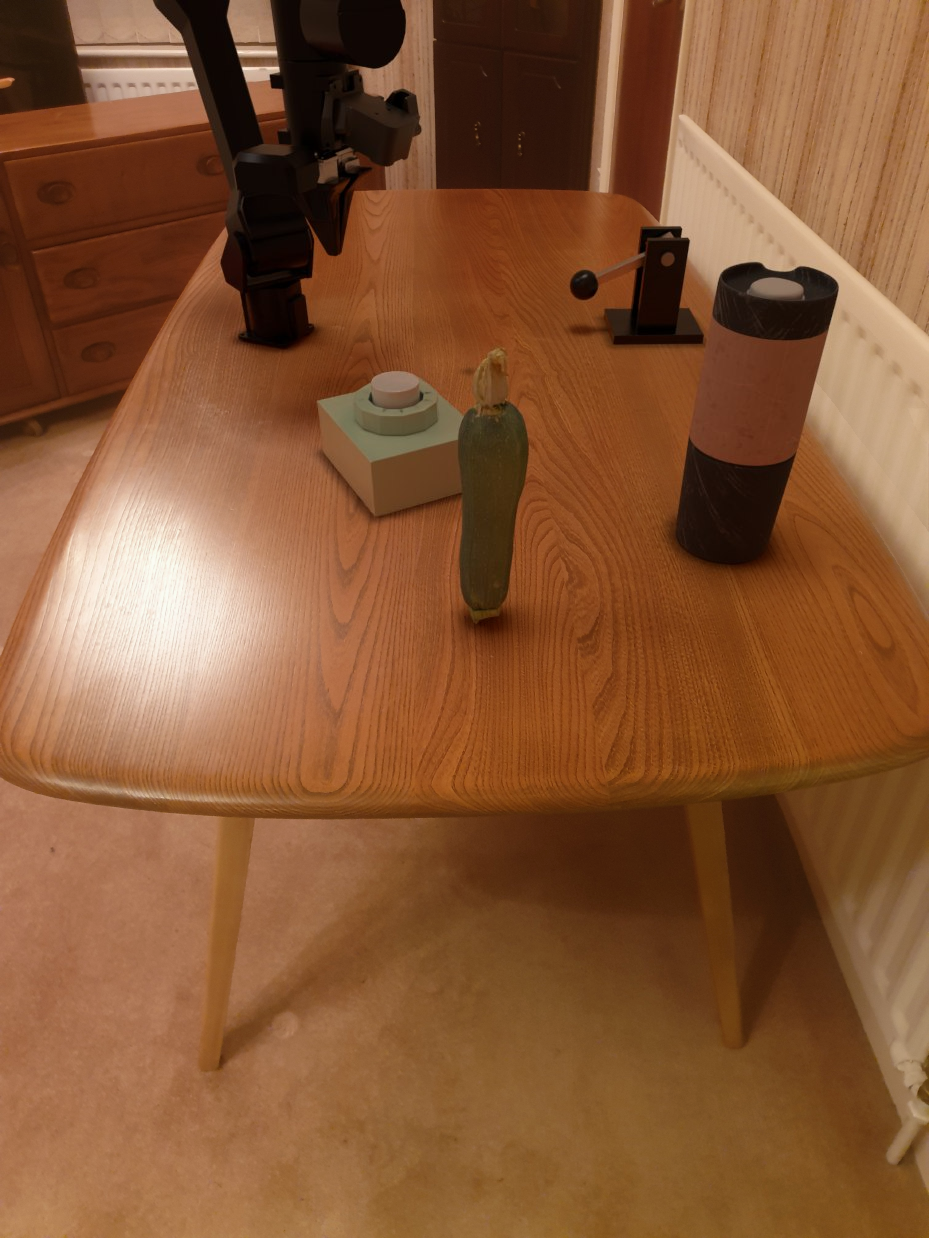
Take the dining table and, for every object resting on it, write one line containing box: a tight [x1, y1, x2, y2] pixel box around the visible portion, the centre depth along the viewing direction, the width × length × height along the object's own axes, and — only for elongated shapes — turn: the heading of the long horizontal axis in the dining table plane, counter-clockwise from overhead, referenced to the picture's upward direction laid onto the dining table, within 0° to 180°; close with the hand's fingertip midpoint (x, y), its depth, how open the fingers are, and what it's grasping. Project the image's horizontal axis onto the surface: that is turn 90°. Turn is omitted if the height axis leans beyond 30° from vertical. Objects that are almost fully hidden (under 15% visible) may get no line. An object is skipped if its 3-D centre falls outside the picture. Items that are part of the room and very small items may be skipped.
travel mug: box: [675, 261, 840, 564], centre depth 62 cm, size 8×8×20 cm
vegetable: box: [458, 347, 530, 624], centre depth 55 cm, size 4×4×20 cm
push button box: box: [316, 377, 464, 518], centre depth 74 cm, size 12×10×7 cm
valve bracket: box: [603, 225, 705, 346], centre depth 96 cm, size 10×8×11 cm
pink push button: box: [370, 370, 420, 409], centre depth 72 cm, size 4×4×2 cm
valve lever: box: [569, 232, 674, 301], centre depth 95 cm, size 12×3×3 cm, turn 91°
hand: (334, 255), depth 81 cm, fingers closed
